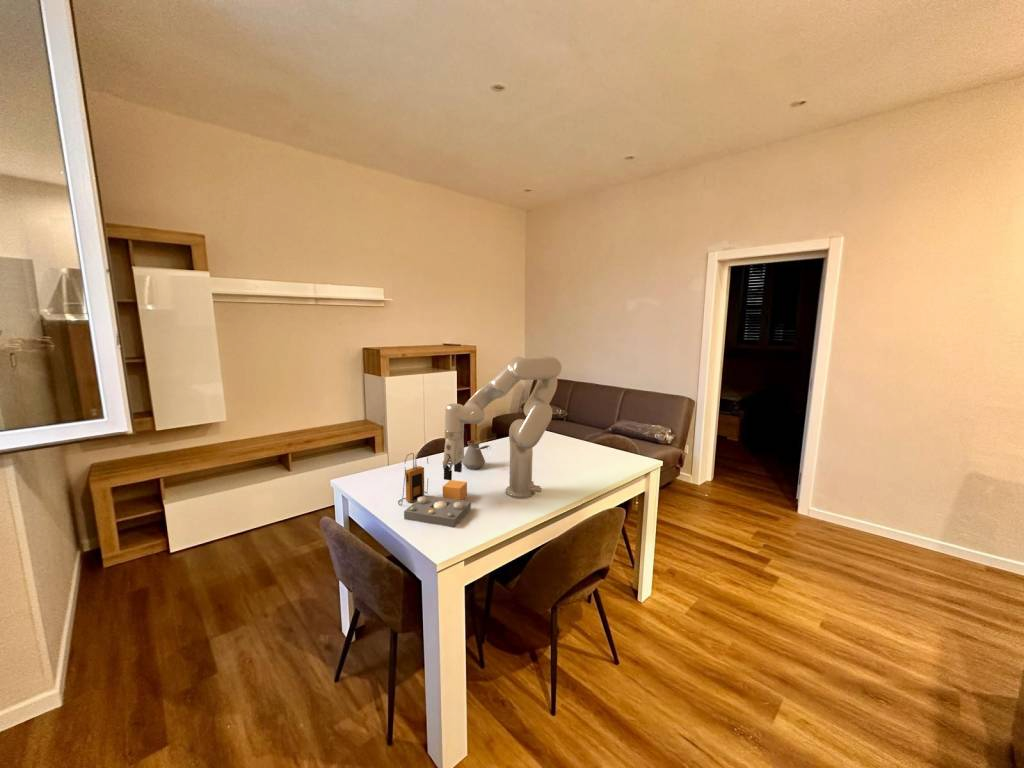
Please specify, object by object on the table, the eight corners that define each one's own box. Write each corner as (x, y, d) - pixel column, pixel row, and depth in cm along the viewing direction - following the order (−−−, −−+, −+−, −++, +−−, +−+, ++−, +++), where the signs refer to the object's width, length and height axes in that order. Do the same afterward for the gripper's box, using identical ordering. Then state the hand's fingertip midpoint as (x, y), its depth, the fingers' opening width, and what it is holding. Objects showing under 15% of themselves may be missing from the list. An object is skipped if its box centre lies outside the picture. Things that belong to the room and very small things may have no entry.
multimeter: (416, 488, 175) (416, 443, 172) (431, 495, 169) (431, 448, 166) (387, 499, 164) (385, 451, 161) (402, 506, 158) (401, 457, 155)
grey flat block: (470, 509, 156) (470, 498, 156) (454, 527, 142) (454, 515, 141) (424, 502, 162) (424, 491, 161) (404, 519, 147) (403, 507, 147)
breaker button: (448, 509, 155) (448, 502, 154) (443, 515, 150) (443, 507, 150) (437, 507, 156) (437, 500, 156) (431, 513, 152) (431, 505, 151)
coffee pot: (458, 465, 205) (458, 436, 203) (478, 461, 211) (478, 433, 209) (478, 479, 187) (478, 447, 185) (499, 474, 193) (499, 444, 191)
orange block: (466, 495, 169) (466, 482, 168) (459, 503, 162) (459, 488, 161) (450, 493, 171) (450, 479, 170) (442, 500, 164) (442, 486, 163)
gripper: (453, 441, 153) (452, 484, 155) (471, 431, 169) (469, 470, 172) (435, 438, 155) (434, 481, 157) (454, 428, 171) (453, 467, 174)
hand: (452, 475), depth 164 cm, fingers open, 9 cm apart
